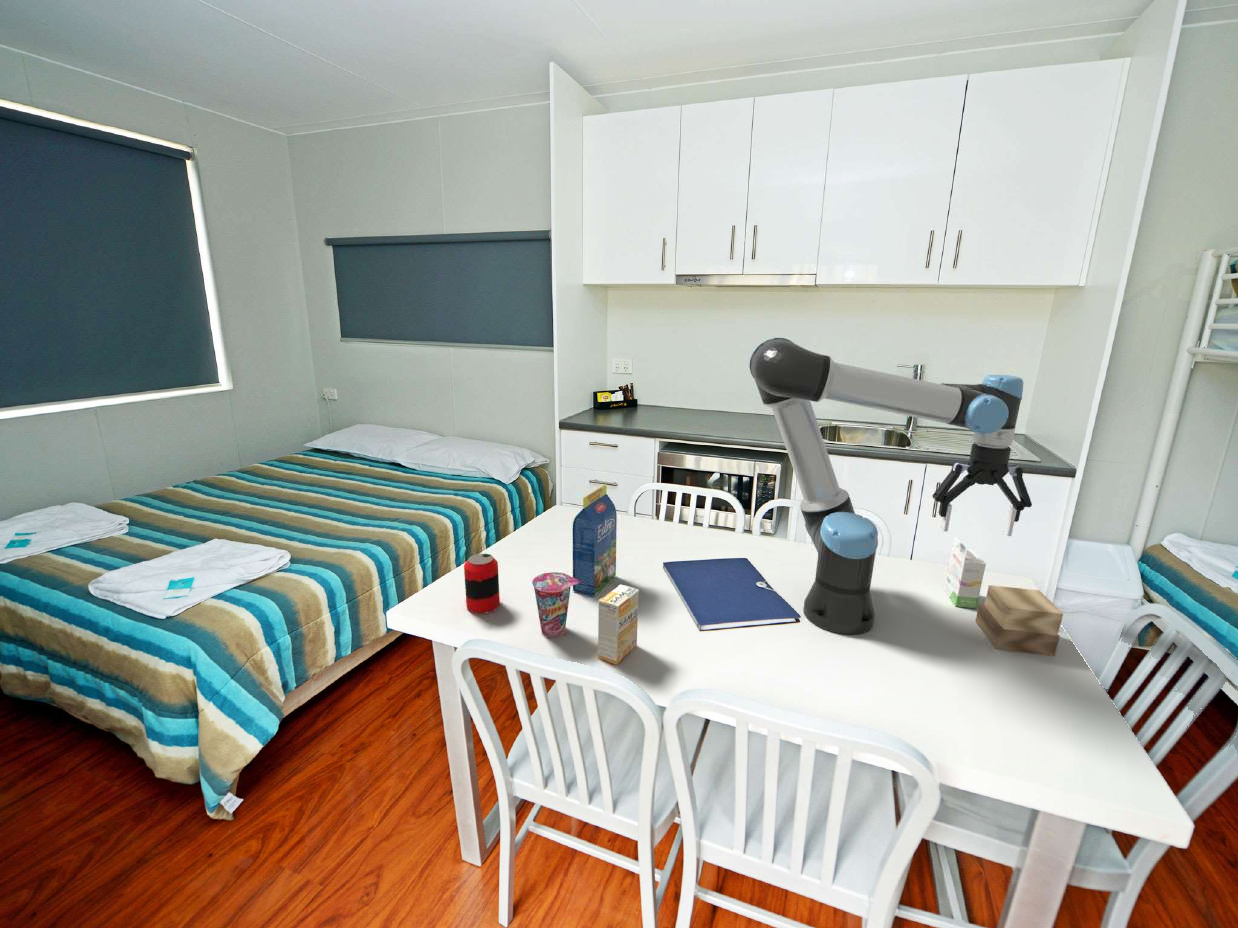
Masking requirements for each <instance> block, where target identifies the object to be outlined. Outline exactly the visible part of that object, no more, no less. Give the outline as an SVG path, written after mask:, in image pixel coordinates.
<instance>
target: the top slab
mask: <svg viewBox="0 0 1238 928" xmlns="http://www.w3.org/2000/svg"><path fill="white" fill-rule="evenodd" d="M984 604H985V606H986V608H987V609H988V610H989V612H990V613H991V614H992V615H993V617H994V618H995V619H996V620H997V622H998V623H999V624H1000V626H1001V627H1002V628H1003V629H1006V630H1014V631H1023V632H1031V633H1040V634H1049V635H1057V636H1058V635H1059V632H1060V629H1061V624H1062V620H1063V616H1064V613H1063V612H1062V611H1061V610H1060V609H1059V608H1058V607H1057V605H1055V604H1054V603H1053V602H1052V601H1051V600H1050V599H1049V598H1048V597H1047V596H1046V594H1044V593H1042V591H1041V590H1040V589H1039V590H1038V589H1030V588H1022V587H1021V588H1020V587H1009V586H1001V585H989V584H988V587H987V592H986V597H985V601H984Z"/></svg>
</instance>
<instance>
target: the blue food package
mask: <svg viewBox="0 0 1238 928" xmlns="http://www.w3.org/2000/svg"><path fill="white" fill-rule="evenodd" d="M582 499H583V501H582V502H583V504H582V505H583V507H582V510H580V511H579V512H578V513H577V514H576V515H575V517H574V518H573V522H572V577H573V578H575V579H577V580H578V581H579V583H578V584H575V585H573V586H572V592H574V593H577V594H582V595H584V596H585V595H586V596H590V597H595V596H596V595H598V594H600V592H602V590H603V589H604V588H606V587H607V585H608V584H611V582H612V581H613V579H614V578H615V577H616V576H617V525H618V524H617V523H618V521H617V520H618V519H617V517H618V516H617V508H616V506H615V503H614V502H613V500H612V499H611V497H609V494H607V483H605V484H604V485H601V486H600V487H599V488H597V489H596V490H594V491H592V492H590V493H589V494H587V495H586V496H584V497H583V498H582Z"/></svg>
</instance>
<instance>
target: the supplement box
mask: <svg viewBox="0 0 1238 928" xmlns="http://www.w3.org/2000/svg"><path fill="white" fill-rule="evenodd" d="M639 594H640V590H639V589H637V588H635V587H631V586H629V585H623V584H619V585H618V586H616V587H615V588H613V589H612V590H611V591H609V592H608V593H607V594H605V595H604V596H602V597H601V598H600V599H598V612H597V613H598V618H597V619H598V622H597V624H598V626H597V627H598V629H597V630H598V631H597V632H598V637H597V639H598V641H597V657H598V659H602V660H603V661H607V662H608V663H611V664H614V665H618V664H619V663H620V662H621V660H623V659H624V658H625V657H626V655H628V654H629V653H630V652H631V651H632V650H633V649H634V648H636V647H637V645H638V625H639V624H638V621H639V618H638V617H639Z"/></svg>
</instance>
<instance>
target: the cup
mask: <svg viewBox="0 0 1238 928" xmlns="http://www.w3.org/2000/svg"><path fill="white" fill-rule="evenodd" d="M531 583H532V587H533V590H534V594H535V599H536V600H535V601H536V606H537V614H538V619H539V625H540V629H541V634H542V635H543V636H544V637H546V638H551V639H553V638H560V637H561V636H563V635H564V634H565V633H566V628H567V627H566V625H567V619H568V610H569V603H570V597H571V595H570V593H571V587H573V585H575V584H578V583H579V581H578V580H577V579H575V578H573V576H571V575H569V574H567V573H564V572H558V571H557V572H556V571H552V572H544V573H541V574H538V575H536V576H535V577H533V579H532V582H531Z"/></svg>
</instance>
